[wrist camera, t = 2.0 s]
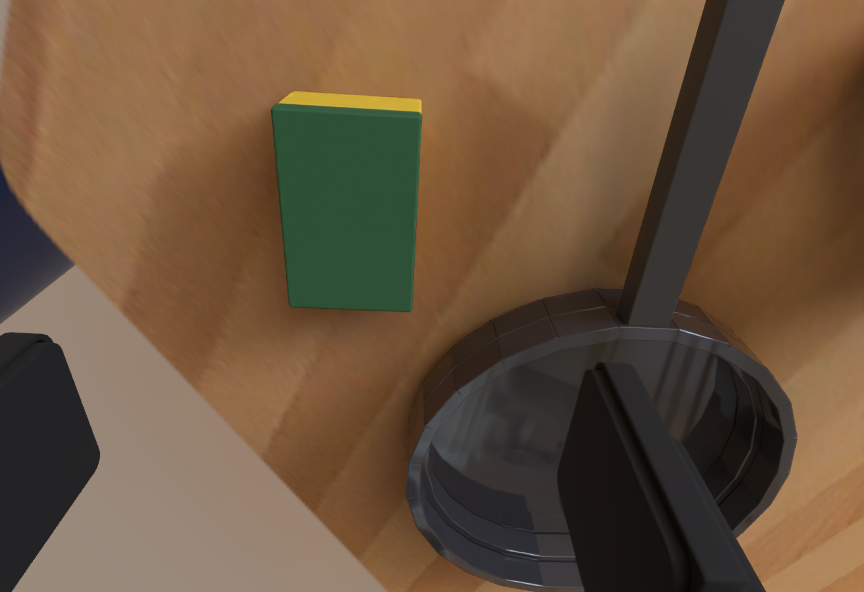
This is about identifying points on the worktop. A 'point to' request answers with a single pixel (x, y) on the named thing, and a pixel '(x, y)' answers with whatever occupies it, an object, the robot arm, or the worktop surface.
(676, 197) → the pan handle
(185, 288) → the worktop surface
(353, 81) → the worktop surface
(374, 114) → the sponge
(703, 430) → the pan
